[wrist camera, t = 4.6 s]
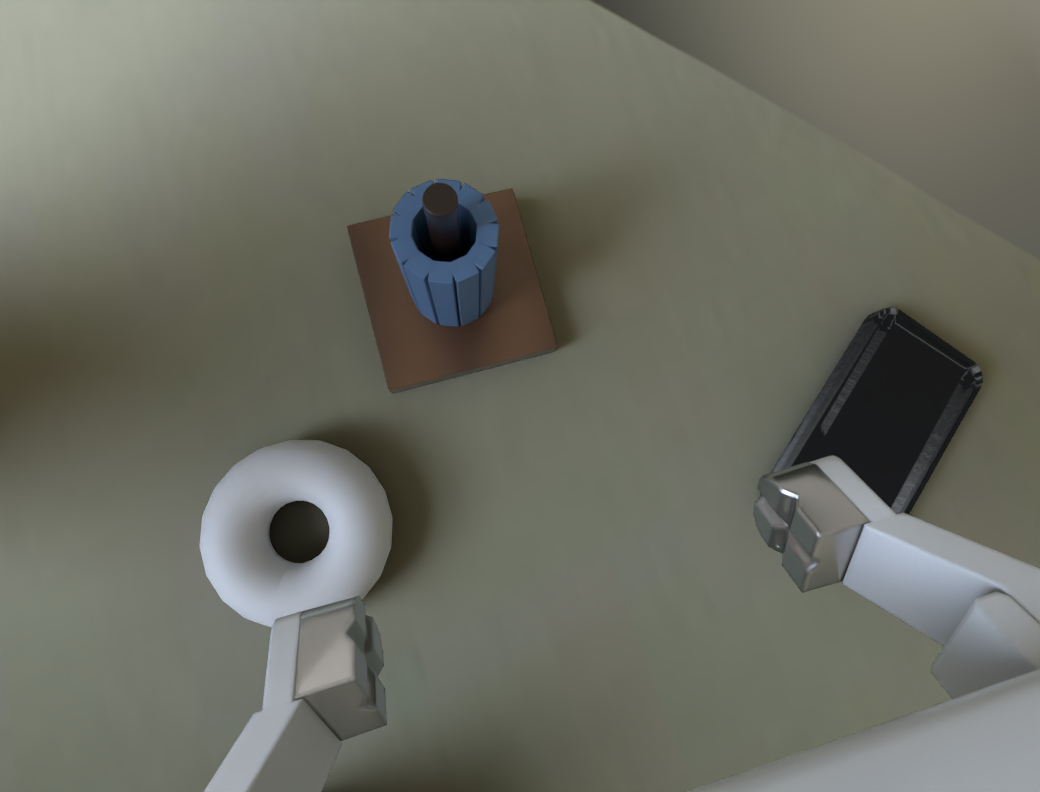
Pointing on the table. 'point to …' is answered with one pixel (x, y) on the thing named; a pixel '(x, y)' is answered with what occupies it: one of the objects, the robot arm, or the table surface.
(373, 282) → the dowel stand
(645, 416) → the table surface
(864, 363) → the phone
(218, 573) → the donut
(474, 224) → the tube
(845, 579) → the robot arm
